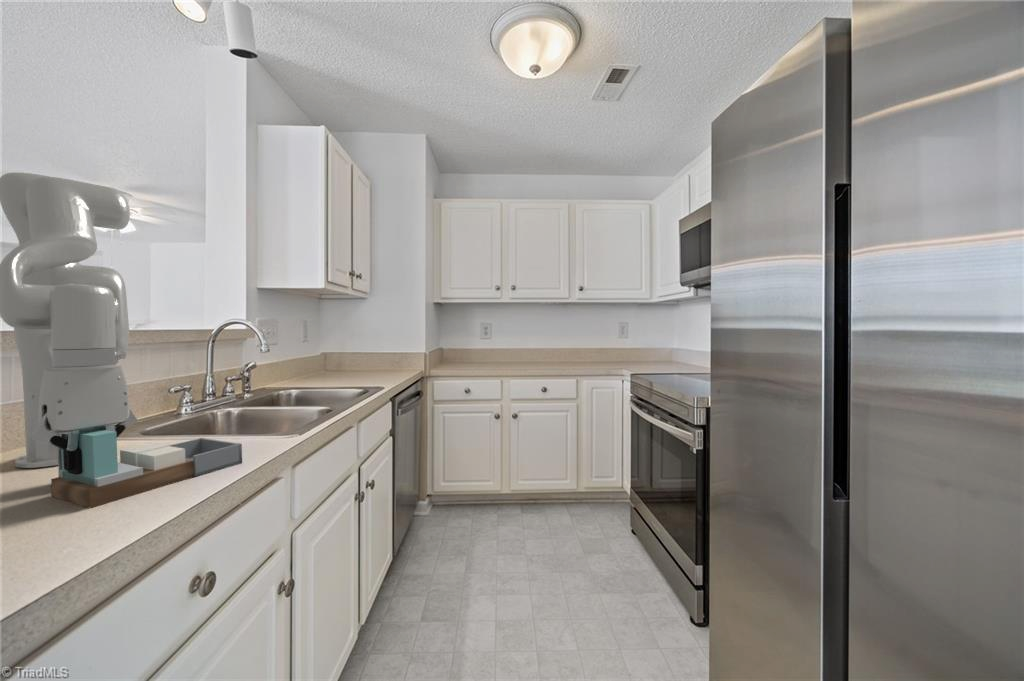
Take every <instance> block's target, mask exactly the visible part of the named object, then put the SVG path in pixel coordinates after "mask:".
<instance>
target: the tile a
mask: <svg viewBox="0 0 1024 681" xmlns="http://www.w3.org/2000/svg"><path fill="white" fill-rule="evenodd" d="M167 446H168V445H165V444H157V443H152V442H151V443H147V444H141V445H138V446H137V445H136V446H133V447H127V448H123V449H120V450H119V458H120V460H119V461H120V462H119V463H123V464H128V465H132V466H138V456H137V453H141V452H145V451H150V450H154V449H158V448H163V447H167Z"/></svg>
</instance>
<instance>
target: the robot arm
mask: <svg viewBox="0 0 1024 681" xmlns="http://www.w3.org/2000/svg"><path fill="white" fill-rule="evenodd" d="M0 206H1V208H2V211H3V213H4V215H5V217H6V219H7V221H8V223H9V224H10V226H11V227H12V229H13V232H14V233H15V236H16V238H17V241H18V246H17V247H14V248H13V249H12V250H11V251H10V252H8V253H7V254H6V255H5V256H4V258H3V259H2V260H1V262H0V317H1V319H2V320H3V322H4V323H5V324H7V326H9V327H11V328H13V336H14V340H15V344H16V347H17V351H18V355H19V360H20V366H21V377H22V390H23V411H24V412H23V414H24V434H25V439H24V440H25V455H24V456H20V457H19V458H17V459H15V460H14V466H15V467H16V468H19V469H36V468H38V469H39V468H46V467H54V466H58V447H59V448H60V449H63V460H64V469H65V470H67V471H68V473H71V474H75V475H78V474H81V473H82V451H81V450H80V449H78V435H79V430H83V429H89V428H95V427H97V429H102V430H108V431H115V432H116V435H117V438H119V436H120V435H121V434H122V433H123V432H124V431H125V430H126V429H128V428H130V427H131V426H133V425H134V424H137V422H138V418H137V417H136V416H135V414H134V413H133V412H132V410H131V409H130V398H129V390H128V386H127V381H126V377H125V374H124V370H123V369H122V368H123V367H122V366H121V365H117V364H119V360H121V359H123V360H124V359H126V356H127V353H126V350H127V349H128V347H129V344H130V323H129V312H128V311H129V309H128V301H127V300H128V299H127V290H126V284H125V281H124V278H123V277H122V275H121V273H120V271H118V270H115V269H114V268H111V267H106V266H99V265H98V266H97V265H87V264H86V265H83V264H80V262H83V261H85V260H88V259H89V258H91V257H92V256H94V254H95V253H97V250H98V243H97V238H96V235H95V227H96V228H105V229H110V230H117V231H118V230H123V229H125V228H126V227H127V226H128V224H129V222H130V218H131V217H130V216H131V212H130V211H131V210H130V206H129V203H128V200H127V198H126V197H125V195H124V194H123V193H122V192H121V191H120V190H118V188H117V189H116V188H114V187H110V186H109V187H108V186H105V185H100V184H96V183H95V184H94V183H90V182H89V183H88V182H84V181H78V180H74V179H68V178H62V177H57V176H56V177H55V176H48V175H44V174H36V173H31V172H30V173H29V172H28V173H27V172H8V173H4V174H2V175H1V176H0Z"/></svg>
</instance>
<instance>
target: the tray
mask: <svg viewBox="0 0 1024 681" xmlns="http://www.w3.org/2000/svg"><path fill="white" fill-rule="evenodd" d="M168 446H171V447H177V448H183V449H185V459H186V460H191V461H194V477H193V478H197V477H200V475H201V476H203V474H204V475H207V474H209V473H213V471H214V472H216V470H217V471H221V470H223V469H226V467H227V468H230V467H233V466H236V465H240V464H242V463H243V445H242V443H240V442H233V441H232V442H231V441H227V440H226V441H225V440H218V439H212V438H204V437H201V438H200V437H199V438H195V439H192V440H187V441H182V442H179V443H178V442H177V443H173V444H168ZM206 473H207V474H206ZM196 476H197V477H196Z"/></svg>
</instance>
